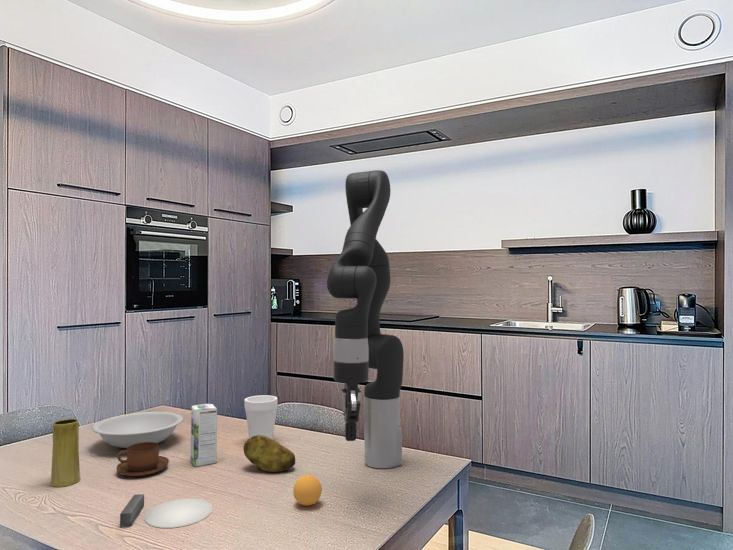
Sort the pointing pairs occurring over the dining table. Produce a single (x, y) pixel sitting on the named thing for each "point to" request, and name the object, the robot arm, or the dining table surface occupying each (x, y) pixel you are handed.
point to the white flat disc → (178, 513)
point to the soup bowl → (137, 428)
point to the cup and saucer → (141, 460)
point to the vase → (65, 453)
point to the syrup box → (203, 434)
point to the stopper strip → (131, 510)
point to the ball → (307, 490)
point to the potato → (268, 454)
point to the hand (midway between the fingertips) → (350, 439)
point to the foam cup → (261, 415)
